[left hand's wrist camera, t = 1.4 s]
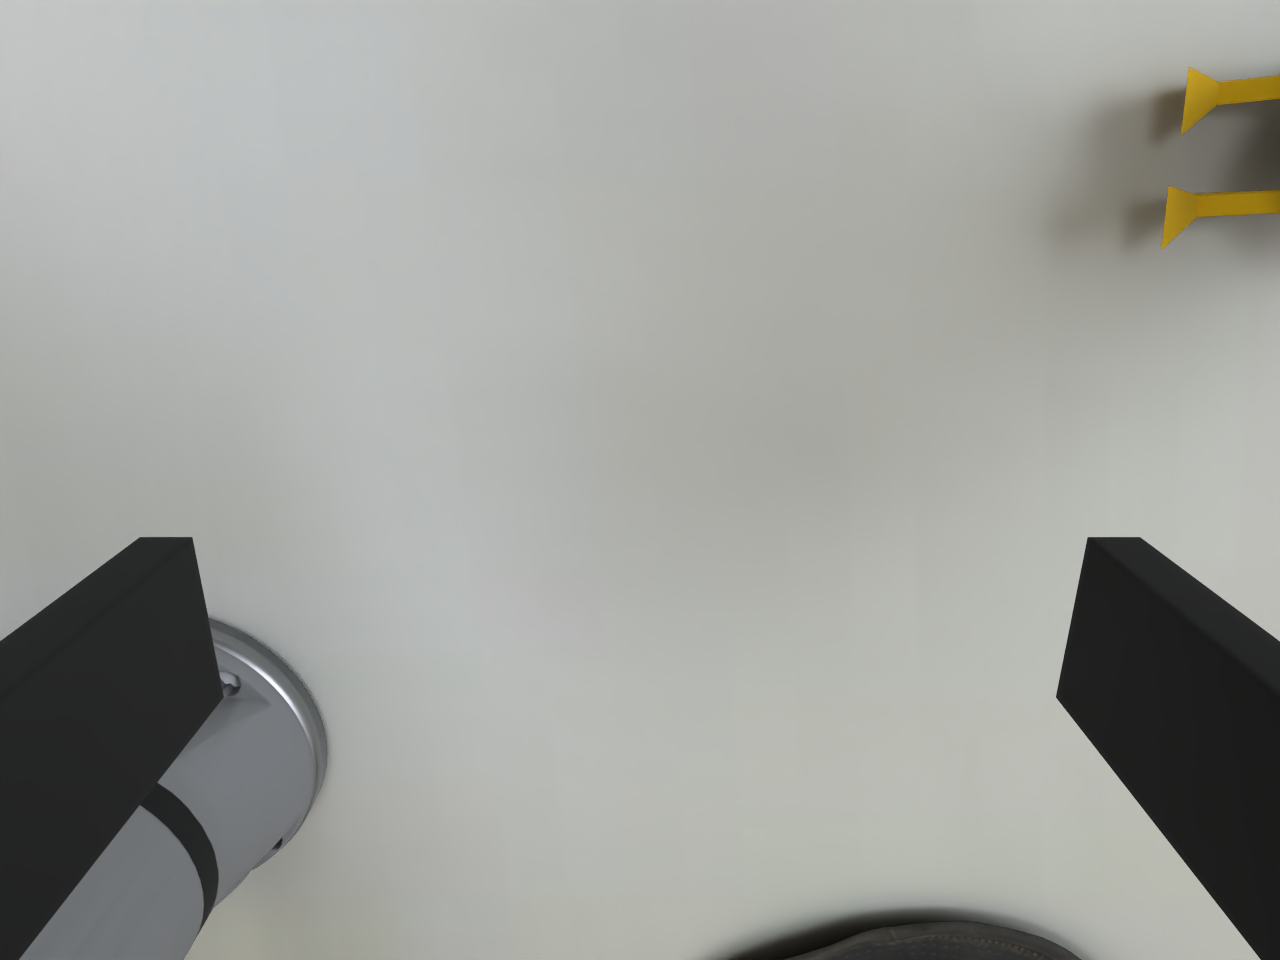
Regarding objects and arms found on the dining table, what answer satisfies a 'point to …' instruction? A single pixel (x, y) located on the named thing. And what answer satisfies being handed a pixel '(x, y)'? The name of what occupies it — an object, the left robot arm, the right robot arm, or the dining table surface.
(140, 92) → the dining table surface
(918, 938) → the hat
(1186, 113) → the toy
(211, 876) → the right robot arm
